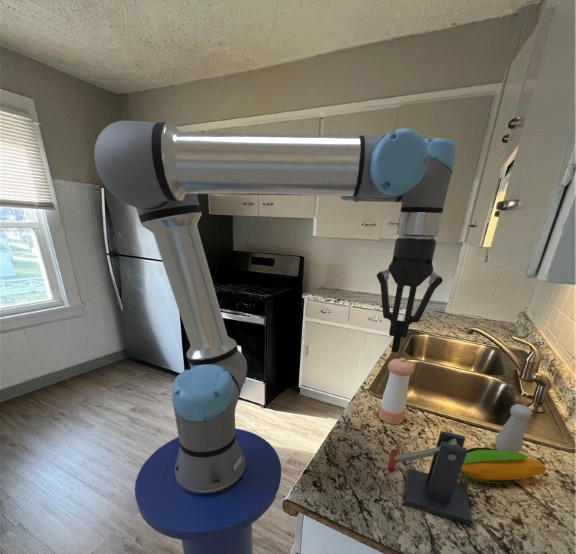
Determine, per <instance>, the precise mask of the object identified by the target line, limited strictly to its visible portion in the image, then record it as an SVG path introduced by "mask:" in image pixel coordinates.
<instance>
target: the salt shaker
mask: <svg viewBox="0 0 576 554" xmlns="http://www.w3.org/2000/svg"><path fill="white" fill-rule="evenodd" d="M509 413H510V417H509V418H508V419H507V420H506V422H505V423H504V424H503V426H502V427H501V428H500V430H499V432H498V433H497V434H496V435H495V436H494V437H495V438H494V445H495V449H496V450H504V451H513V452H517V453H519V451H520V450H522V448H523V443H524V437H525V431H526V425H527V420H530V419H531V417H532V416H533V411H532V409H531V408H530V407H528V406H526V405H523V404H520V403H519V404H518V403H517V404H513V405H511V407H510V409H509Z"/></svg>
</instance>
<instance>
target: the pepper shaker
mask: <svg viewBox="0 0 576 554" xmlns="http://www.w3.org/2000/svg"><path fill="white" fill-rule="evenodd" d="M387 368H388V371H389V373H388V379H387V384H386V386H385V389H384V391H383V395H382V401H381V402H380V405H379V409H378V417H379V419H380V420H381V421H383V422H385V423H387V424H389V425H400V424H402V423H403V422H404V421H405V415H406V412H407V411H406V410H407V409H406V405H407V402H408V389H409V388H408V387H409V384H410V383H409V382H410V378H411V375H413V373H415V365H414V364H413V362H411V361H410V360H408V359H406V358H405V357H400V358H392V360H390V361H388V364H387Z"/></svg>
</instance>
